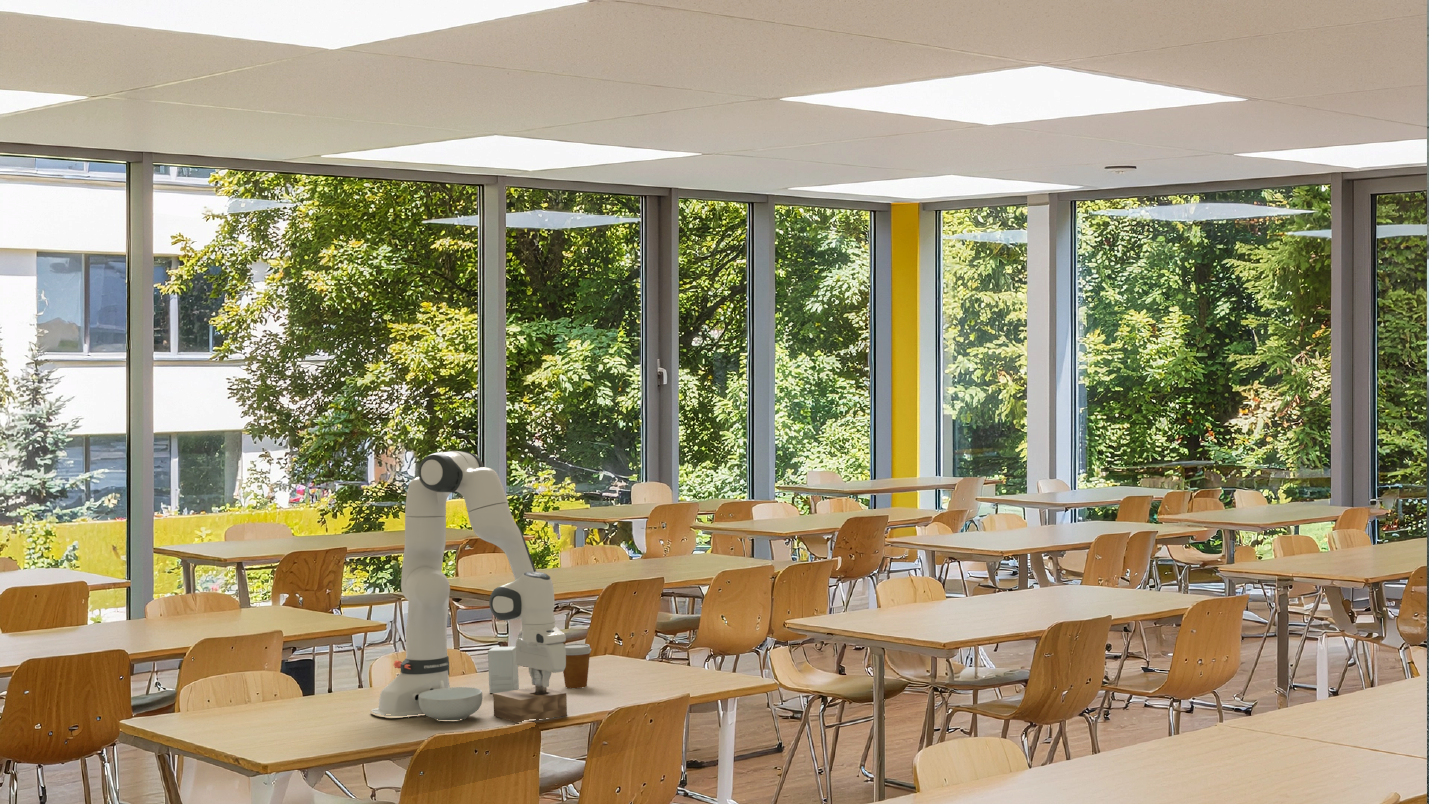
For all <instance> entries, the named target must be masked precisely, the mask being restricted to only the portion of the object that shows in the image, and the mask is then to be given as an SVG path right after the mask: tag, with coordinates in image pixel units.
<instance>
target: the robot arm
mask: <svg viewBox="0 0 1429 804" xmlns="http://www.w3.org/2000/svg"><path fill="white" fill-rule="evenodd" d="M417 473H418V476H417V477H414V478H413V479H412V480H411V481H409V484H408V488H407V492H406V500H405V508H404V509H405V511H404V512H405V513H404V551H403V558H402V567H401V568H402V569H401V580H400V588H401V593H402V595H403V596H404V598H405V599H406V601H407V603H408V605H407V607H408V608H407V617H406V618H407V620H406V627H405V655H406V656H405V658H404V660H403V661H400V660H395V661H394V662H393V664H392V665H393V667H394V668H395V669H400V673H399V674H398V675H397V676H396V677H395V678H393V680H391V681H390V682H389V683H388V684H387V685H386V686H384V688H382V690H381V691H380V694H379V695H380V696H379V701H378V707H376V708H371V710H370V712H371V711H372V712H373V713H375V714H381V715H384V716H407V715H418V714H424V713H423V712H422V711H421V709H420V706H419V699H418V696H419V694H420V693H422V692H425V691H429V690H434V689H441V688H451V687H450V686H451V685H450V679H449V678H450V677H449V676H450V657H449V656H448V639H447V638H448V636H447V635H448V633H447V630H448V628H447V627H448V615H449V607H450V606H449V605H450V592H451V586H450V581H449V578H448V577H447V576H446V575H445V573H443V572H442V570H443V561H444V555H445V548H446V544H447V541H446V540H447V531H446V530H447V517H446V516H447V500H448V498H449V496H450V495H451V494H452V493H453V494H460V495H461V496H462V497H463V500H464V502H465V507H466V511H467V515H468V521H469V523H470V526H471V528H472V531H473V532H474V533H473V534H475V535H476V536H477V537H478V538H479V539H481V540H482V541H485V542H487V543H490V544H493V545H495V546H496V547H498V548H500V549H501V551H503V553H504V554H505V556H506V557H507V560H508V563H509V565H510V566H509V567H510V569H511V572H512V574H513V577H514V579H515V580H513V581H511V582H508V583H505V584H503V585H500V586H498V587H496V588H494V589H493V590H492V592H491V594H490V595H489V608H490V612H491V614H492V615H493V617H495V618H496V619H497V620H499V621H504V622H505V621H506V622H508V621H514V620H520V621H521V631H520V632H519V634H518V635H517V639H516V642H515V646H516V648H515V661H516V664H517V665H518V667H523V668H524V667H525V668H528V673H529V676H530V678H531V685H532V686H535V669H538V670H542V674H543V678H542V680H540V683H541V684H540V685H541V687H547V688H549V686H550V679H551V676H552V673H553V674H554V673H555V674H556V673H561V672H563V671H564V669H565V667H566V650H565V645H566V644H565V642H566V640H567V638H566V637H567V636H566V634H565V633H564V632H563V631H562V630H561V629H560V628H559V627H558V626H557V625H556V619H555V615H554V614H555V613H554V610H555V602H556V601H555V589H554V583H553V580H552V578H551V576H550V575H549V574H547V573H545V572H542V571H537V570H536V567H535V563H534V561H533V558H532V555H531V553H530V550H529V547H528V545H527V541H526V540H525V537H524V535H523V532H522V531H521V529H520V527H519V526H518V525H517V523H516V521H515V519H514V517H513V514H512V512H511V509H510V506H509V503H508V497H507V494H506V491H505V488H504V486H503V484H502V481H501V478H500V477H499V474H498V472H496V471H495V469H493V468H490V467H484V463H483V461H482V459H481V458H479V456H477V454H475V453H473V452H469V451H465V450H464V451H460V450H459V451H458V450H447V451H443V452H441V451H440V452H439V451H437V452H434V453H431V454H428V455H427V456H425V457H424V458H423V459H422V460H421V462H420V463H419V465H418V470H417ZM386 714H391V715H386Z"/></svg>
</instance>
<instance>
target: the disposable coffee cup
mask: <svg viewBox="0 0 1429 804" xmlns="http://www.w3.org/2000/svg"><path fill="white" fill-rule="evenodd" d="M564 645H565V650H566V667H565V669H564V671H563V679H564V685H565V688H566V687H567V688H566V689H572V688H575V689H583V688H582V687H584V688H586V687H588V679H589V667H590V657H591V656H590V655H591V651H592V648H591V646H590V644H588V643H568V644H564Z"/></svg>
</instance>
